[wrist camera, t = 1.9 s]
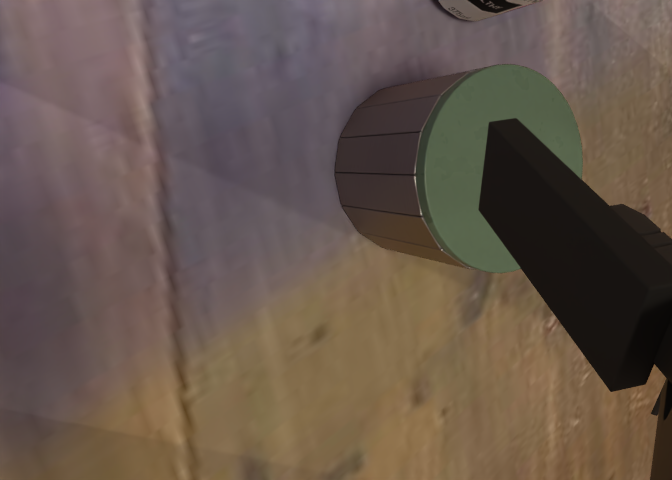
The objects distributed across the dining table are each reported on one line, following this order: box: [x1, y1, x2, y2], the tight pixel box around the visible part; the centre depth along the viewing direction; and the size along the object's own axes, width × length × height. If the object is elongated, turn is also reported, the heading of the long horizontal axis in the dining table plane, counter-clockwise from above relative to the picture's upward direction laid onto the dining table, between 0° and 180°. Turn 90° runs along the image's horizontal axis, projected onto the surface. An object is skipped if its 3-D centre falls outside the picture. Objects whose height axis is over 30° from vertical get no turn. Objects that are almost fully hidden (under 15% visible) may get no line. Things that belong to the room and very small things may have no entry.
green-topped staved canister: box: [335, 64, 583, 273], centre depth 37 cm, size 11×11×10 cm
